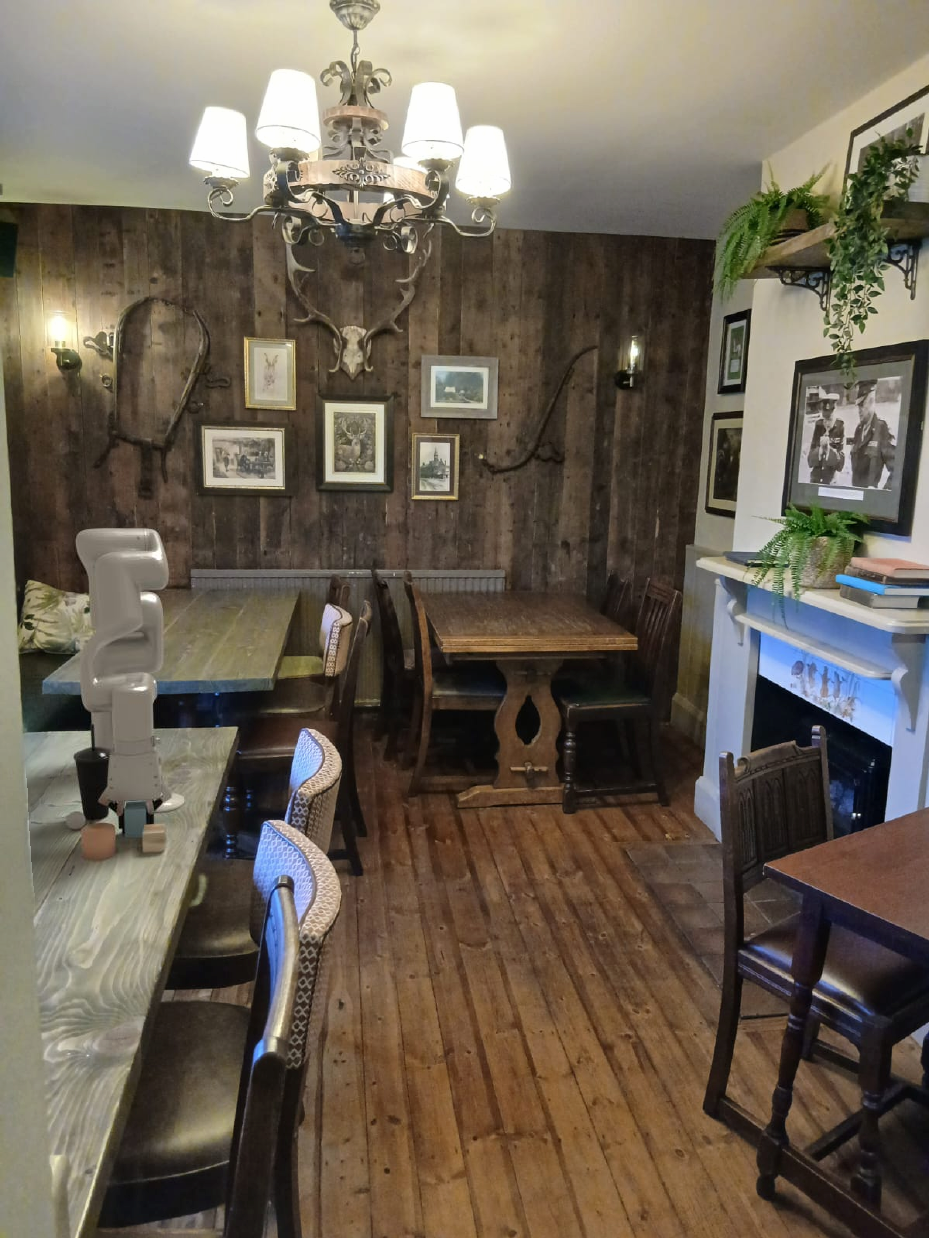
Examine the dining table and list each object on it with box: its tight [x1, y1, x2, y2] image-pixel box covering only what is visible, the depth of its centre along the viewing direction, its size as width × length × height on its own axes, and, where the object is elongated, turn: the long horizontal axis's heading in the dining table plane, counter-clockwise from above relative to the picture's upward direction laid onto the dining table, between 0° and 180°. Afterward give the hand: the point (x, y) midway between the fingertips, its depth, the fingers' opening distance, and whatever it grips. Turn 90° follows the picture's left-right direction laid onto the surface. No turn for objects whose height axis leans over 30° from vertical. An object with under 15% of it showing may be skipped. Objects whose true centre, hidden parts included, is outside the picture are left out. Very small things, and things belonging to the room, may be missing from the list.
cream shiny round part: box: [143, 792, 185, 813], centre depth 191 cm, size 9×9×1 cm
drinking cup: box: [72, 723, 111, 821], centre depth 182 cm, size 8×8×20 cm
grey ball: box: [65, 810, 86, 830], centre depth 178 cm, size 4×4×4 cm
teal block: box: [124, 801, 147, 839], centre depth 176 cm, size 4×4×6 cm
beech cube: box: [141, 823, 167, 853], centre depth 171 cm, size 4×4×4 cm
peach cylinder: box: [80, 822, 117, 862], centre depth 168 cm, size 6×6×5 cm
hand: (136, 829), depth 177 cm, fingers closed on teal block, 3 cm apart
